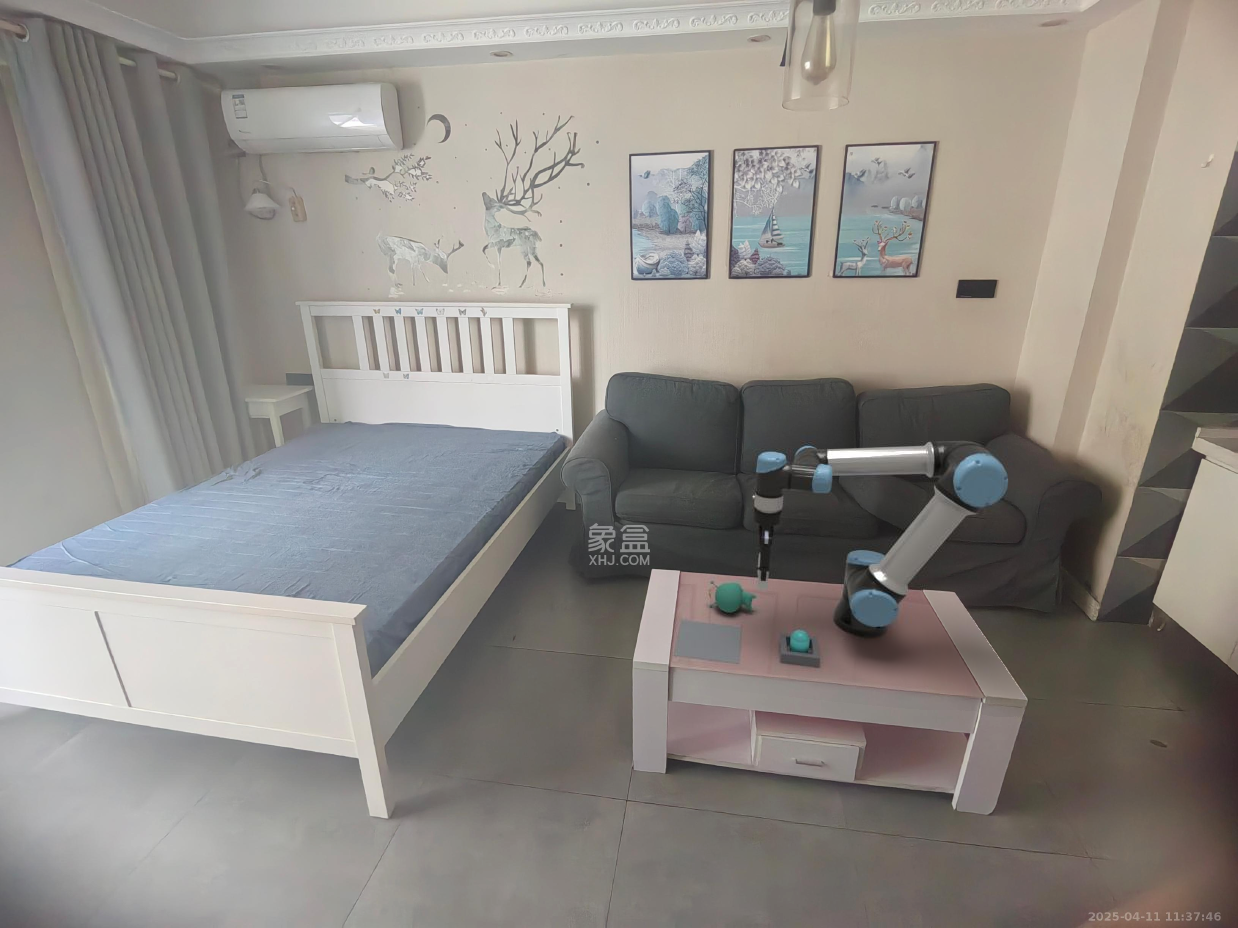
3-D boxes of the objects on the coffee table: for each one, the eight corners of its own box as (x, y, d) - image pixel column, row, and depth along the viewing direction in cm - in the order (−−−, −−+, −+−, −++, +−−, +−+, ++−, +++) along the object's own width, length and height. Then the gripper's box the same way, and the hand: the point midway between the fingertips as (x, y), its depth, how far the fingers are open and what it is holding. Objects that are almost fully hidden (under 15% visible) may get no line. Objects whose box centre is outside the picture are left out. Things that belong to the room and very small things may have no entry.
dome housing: (815, 645, 175) (816, 636, 174) (818, 667, 165) (819, 658, 164) (779, 641, 177) (780, 632, 176) (780, 663, 167) (781, 653, 166)
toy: (759, 588, 195) (713, 574, 199) (757, 587, 185) (709, 573, 190) (751, 619, 193) (705, 604, 198) (749, 620, 184) (701, 605, 189)
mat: (741, 627, 184) (741, 626, 183) (739, 664, 167) (739, 663, 167) (681, 620, 187) (681, 619, 187) (673, 656, 171) (673, 655, 170)
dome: (807, 648, 173) (809, 627, 170) (808, 659, 168) (811, 637, 166) (789, 646, 174) (791, 625, 171) (789, 656, 169) (791, 635, 167)
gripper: (754, 493, 178) (749, 563, 186) (753, 522, 159) (748, 599, 166) (780, 495, 177) (774, 565, 184) (783, 524, 157) (776, 602, 165)
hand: (762, 581), depth 175 cm, fingers open, 8 cm apart
